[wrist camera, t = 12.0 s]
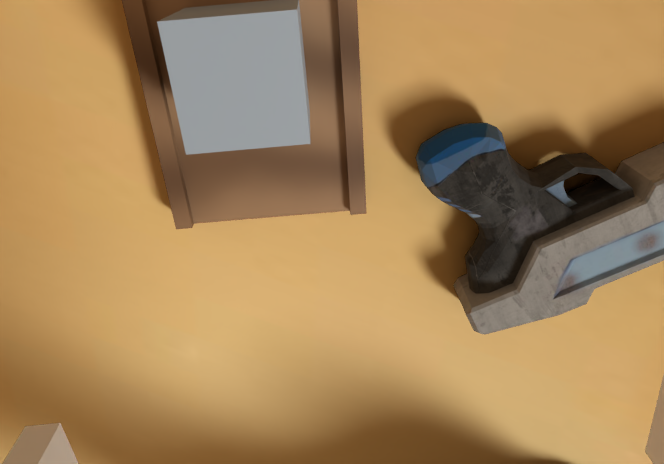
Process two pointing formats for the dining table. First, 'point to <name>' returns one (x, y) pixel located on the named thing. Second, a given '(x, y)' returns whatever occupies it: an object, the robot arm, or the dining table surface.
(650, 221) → the ray gun
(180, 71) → the cube
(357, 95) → the board
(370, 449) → the dining table surface
